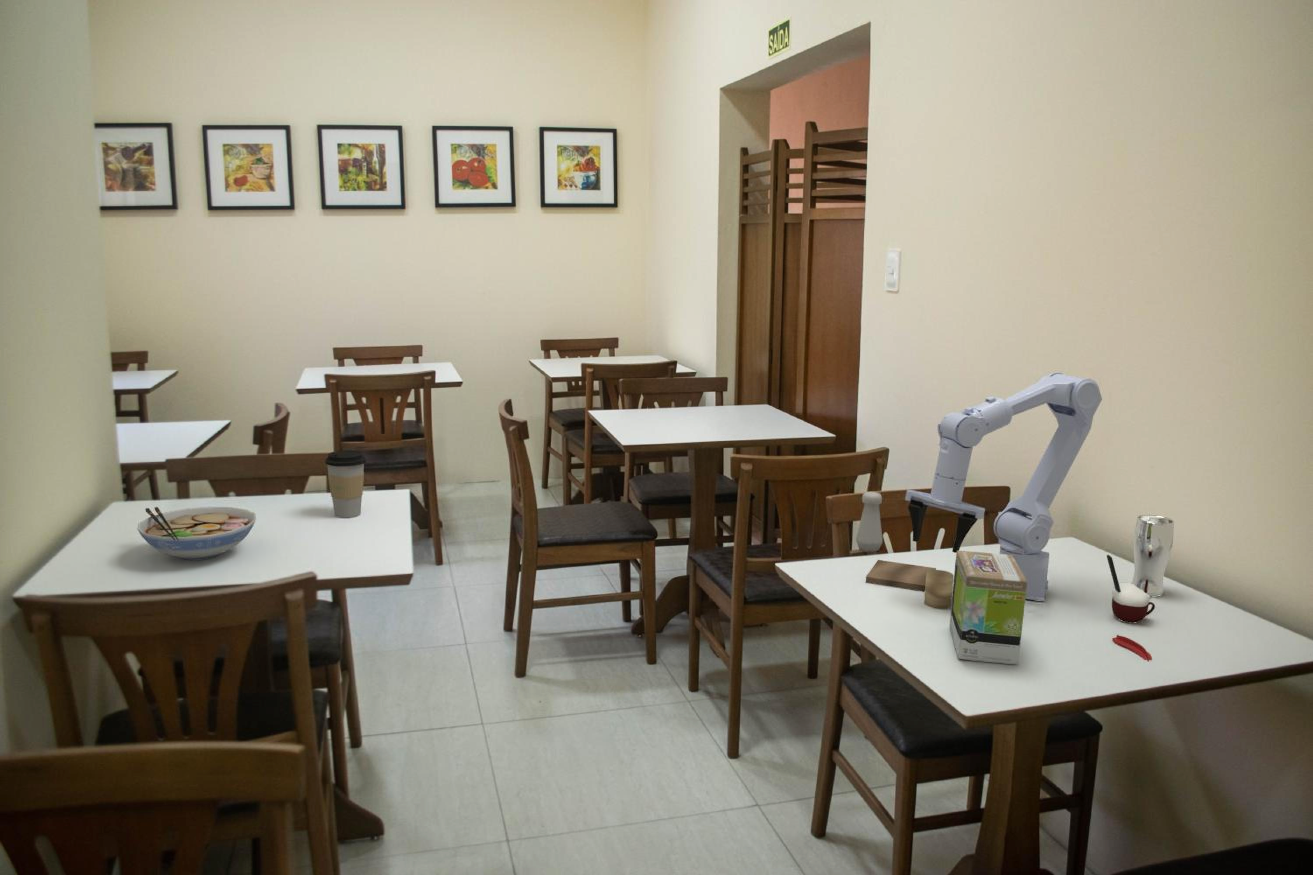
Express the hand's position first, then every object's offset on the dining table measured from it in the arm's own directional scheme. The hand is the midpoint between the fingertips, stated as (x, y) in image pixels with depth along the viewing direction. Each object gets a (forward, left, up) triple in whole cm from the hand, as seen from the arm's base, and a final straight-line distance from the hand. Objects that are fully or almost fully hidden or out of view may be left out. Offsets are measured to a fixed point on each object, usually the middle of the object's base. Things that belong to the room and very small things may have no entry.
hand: (935, 546), depth 194 cm
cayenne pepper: (-35, +8, -12) cm, 37 cm away
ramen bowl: (+144, +41, -11) cm, 150 cm away
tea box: (-11, +18, -11) cm, 24 cm away
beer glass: (-38, -25, -11) cm, 47 cm away
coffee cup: (+137, +3, -11) cm, 137 cm away
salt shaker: (+18, -27, -11) cm, 34 cm away
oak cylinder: (-1, +1, -11) cm, 11 cm away
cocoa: (-34, -7, -11) cm, 37 cm away
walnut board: (+8, -11, -11) cm, 17 cm away
